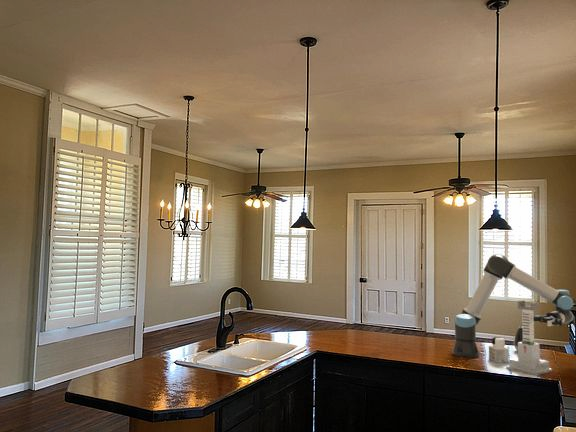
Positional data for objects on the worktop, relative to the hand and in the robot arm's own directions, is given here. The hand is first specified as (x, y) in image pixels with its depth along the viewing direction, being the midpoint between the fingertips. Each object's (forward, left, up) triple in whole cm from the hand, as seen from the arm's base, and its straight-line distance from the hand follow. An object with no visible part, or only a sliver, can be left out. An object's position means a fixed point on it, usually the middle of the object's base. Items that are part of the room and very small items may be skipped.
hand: (535, 321), depth 249 cm
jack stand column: (-5, -4, -19) cm, 20 cm away
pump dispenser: (+10, +39, -25) cm, 47 cm away
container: (-14, +14, -25) cm, 32 cm away
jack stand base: (-5, -4, -25) cm, 26 cm away
